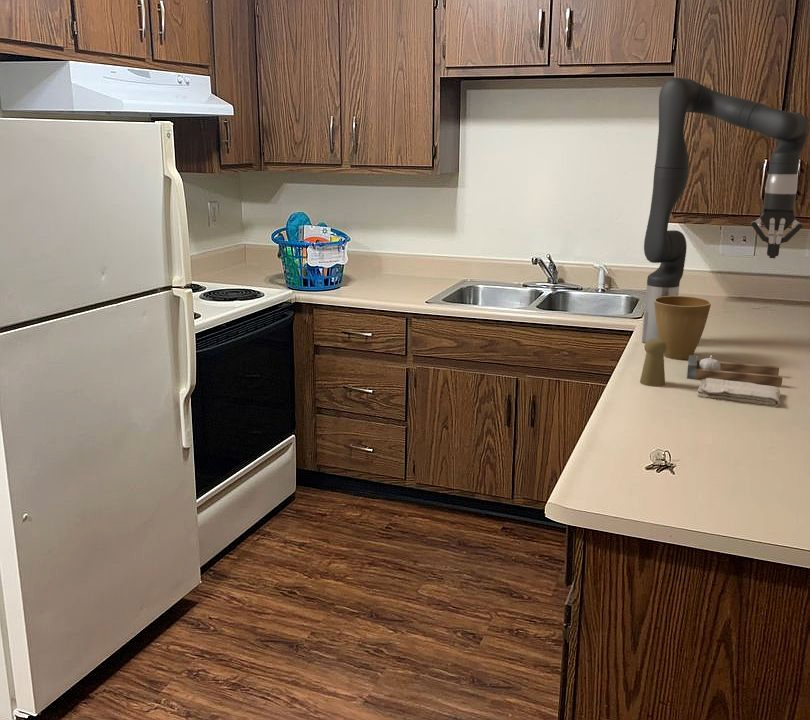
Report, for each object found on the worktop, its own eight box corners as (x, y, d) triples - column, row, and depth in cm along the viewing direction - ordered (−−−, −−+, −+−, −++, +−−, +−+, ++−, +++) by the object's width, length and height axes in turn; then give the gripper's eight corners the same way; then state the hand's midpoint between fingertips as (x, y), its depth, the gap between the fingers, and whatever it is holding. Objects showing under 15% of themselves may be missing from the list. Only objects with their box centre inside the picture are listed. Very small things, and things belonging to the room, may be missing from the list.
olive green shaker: (634, 380, 205) (638, 338, 202) (654, 378, 207) (658, 336, 204) (649, 387, 200) (653, 343, 197) (670, 385, 202) (674, 341, 199)
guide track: (686, 378, 207) (688, 365, 207) (687, 367, 218) (688, 354, 217) (781, 387, 200) (783, 373, 199) (777, 375, 211) (779, 362, 210)
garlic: (704, 371, 214) (706, 352, 213) (724, 375, 211) (726, 355, 209) (693, 375, 210) (694, 355, 209) (712, 379, 207) (714, 359, 205)
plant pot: (649, 348, 238) (653, 294, 234) (703, 352, 234) (708, 297, 230) (650, 361, 224) (655, 303, 220) (707, 365, 220) (713, 306, 216)
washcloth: (700, 386, 202) (701, 374, 201) (779, 395, 195) (781, 383, 194) (695, 399, 192) (696, 387, 191) (779, 410, 184) (780, 397, 184)
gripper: (753, 191, 212) (745, 258, 217) (809, 193, 208) (800, 261, 213) (752, 190, 219) (745, 254, 224) (807, 191, 215) (798, 257, 219)
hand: (772, 257), depth 218 cm, fingers closed
